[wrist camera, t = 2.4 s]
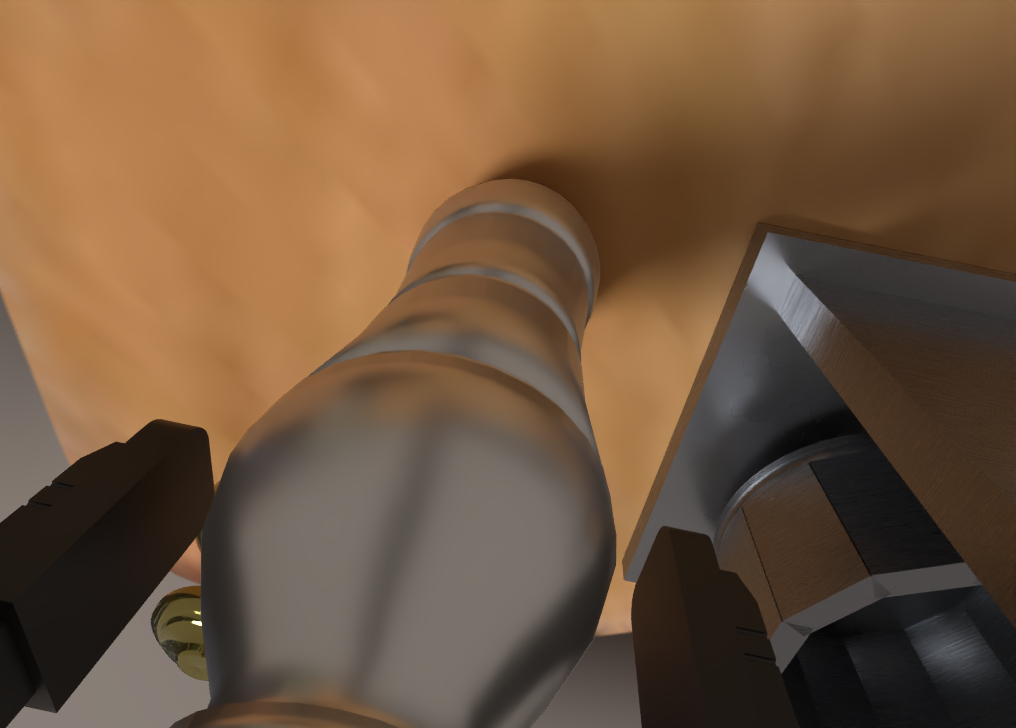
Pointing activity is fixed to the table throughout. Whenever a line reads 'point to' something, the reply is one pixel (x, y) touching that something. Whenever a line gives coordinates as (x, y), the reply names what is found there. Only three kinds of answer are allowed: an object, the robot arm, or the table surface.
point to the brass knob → (182, 627)
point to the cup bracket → (860, 478)
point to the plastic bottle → (423, 497)
